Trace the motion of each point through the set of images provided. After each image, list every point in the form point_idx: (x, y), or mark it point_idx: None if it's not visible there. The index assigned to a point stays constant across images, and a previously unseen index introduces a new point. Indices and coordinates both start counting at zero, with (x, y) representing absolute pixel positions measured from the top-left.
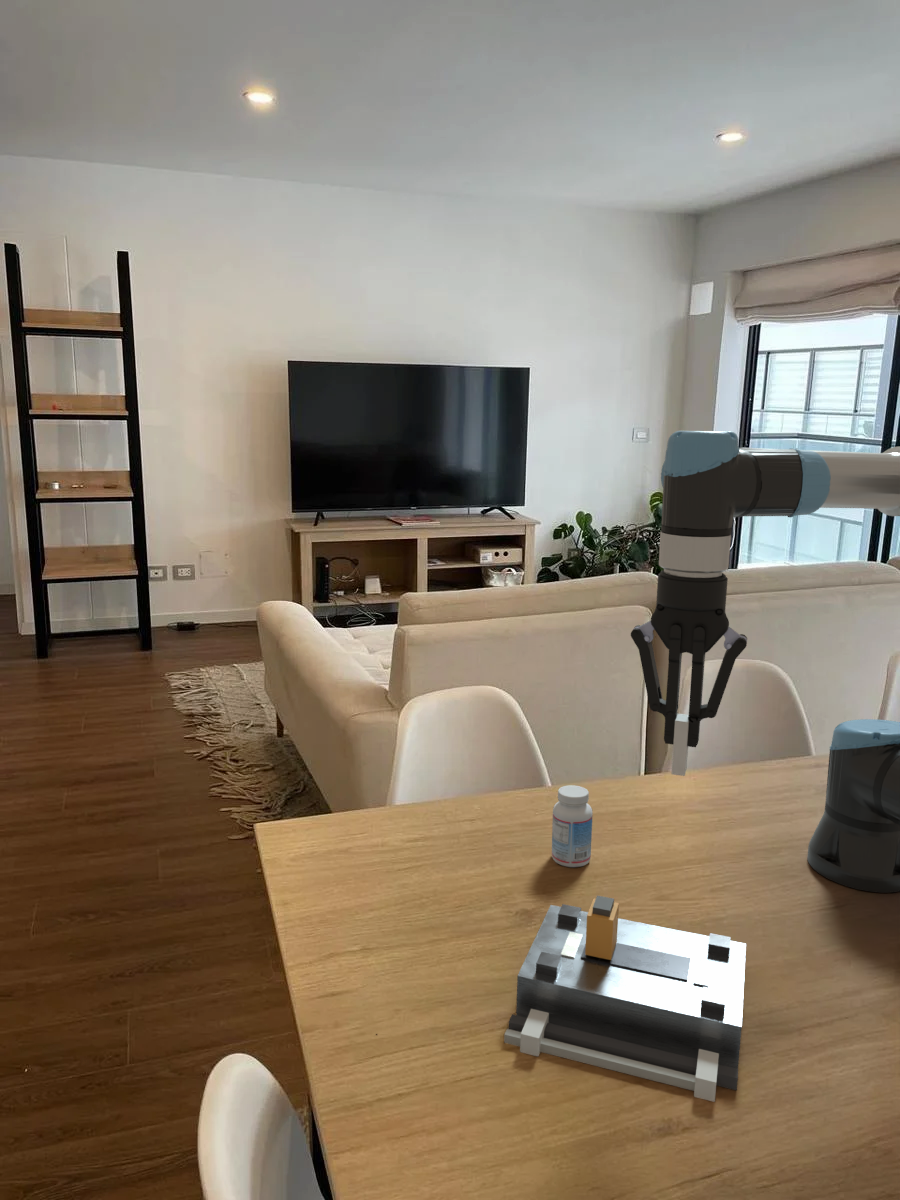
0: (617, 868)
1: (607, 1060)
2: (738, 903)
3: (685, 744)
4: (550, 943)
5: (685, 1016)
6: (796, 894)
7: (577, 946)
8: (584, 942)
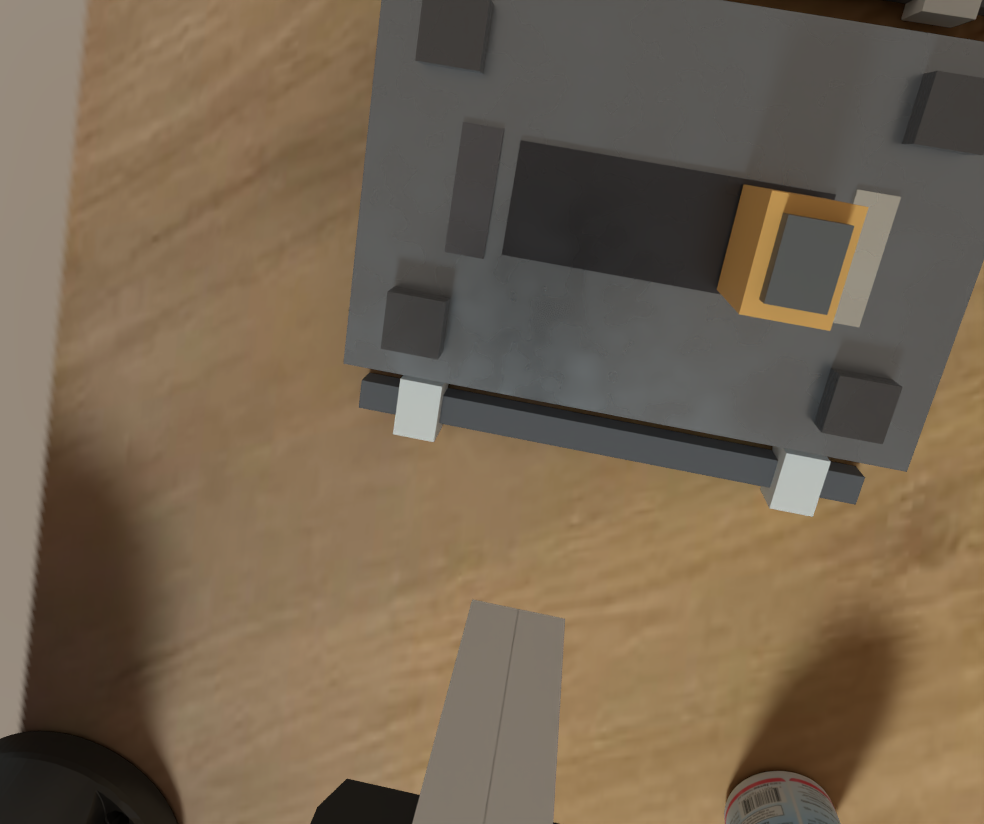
0: (650, 777)
1: None
2: (356, 656)
3: (437, 780)
4: (926, 259)
5: None
6: (220, 707)
7: None
8: None
